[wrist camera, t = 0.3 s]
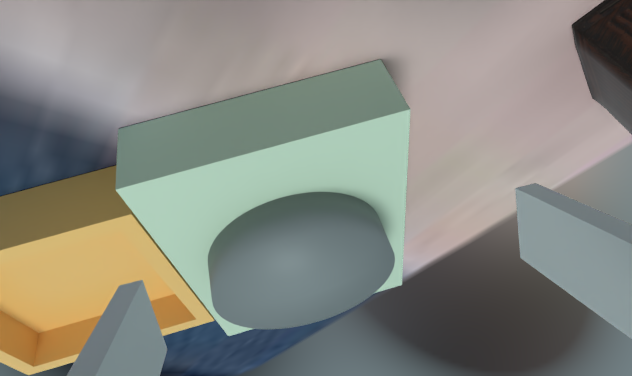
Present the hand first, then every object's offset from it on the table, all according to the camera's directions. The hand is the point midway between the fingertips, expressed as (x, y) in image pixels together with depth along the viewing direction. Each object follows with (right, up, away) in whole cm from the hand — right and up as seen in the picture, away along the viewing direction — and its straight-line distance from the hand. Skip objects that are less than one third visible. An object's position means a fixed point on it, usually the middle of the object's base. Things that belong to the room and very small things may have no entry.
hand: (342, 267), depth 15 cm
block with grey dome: (-4, +2, +21) cm, 21 cm away
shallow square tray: (-20, -3, +20) cm, 28 cm away
